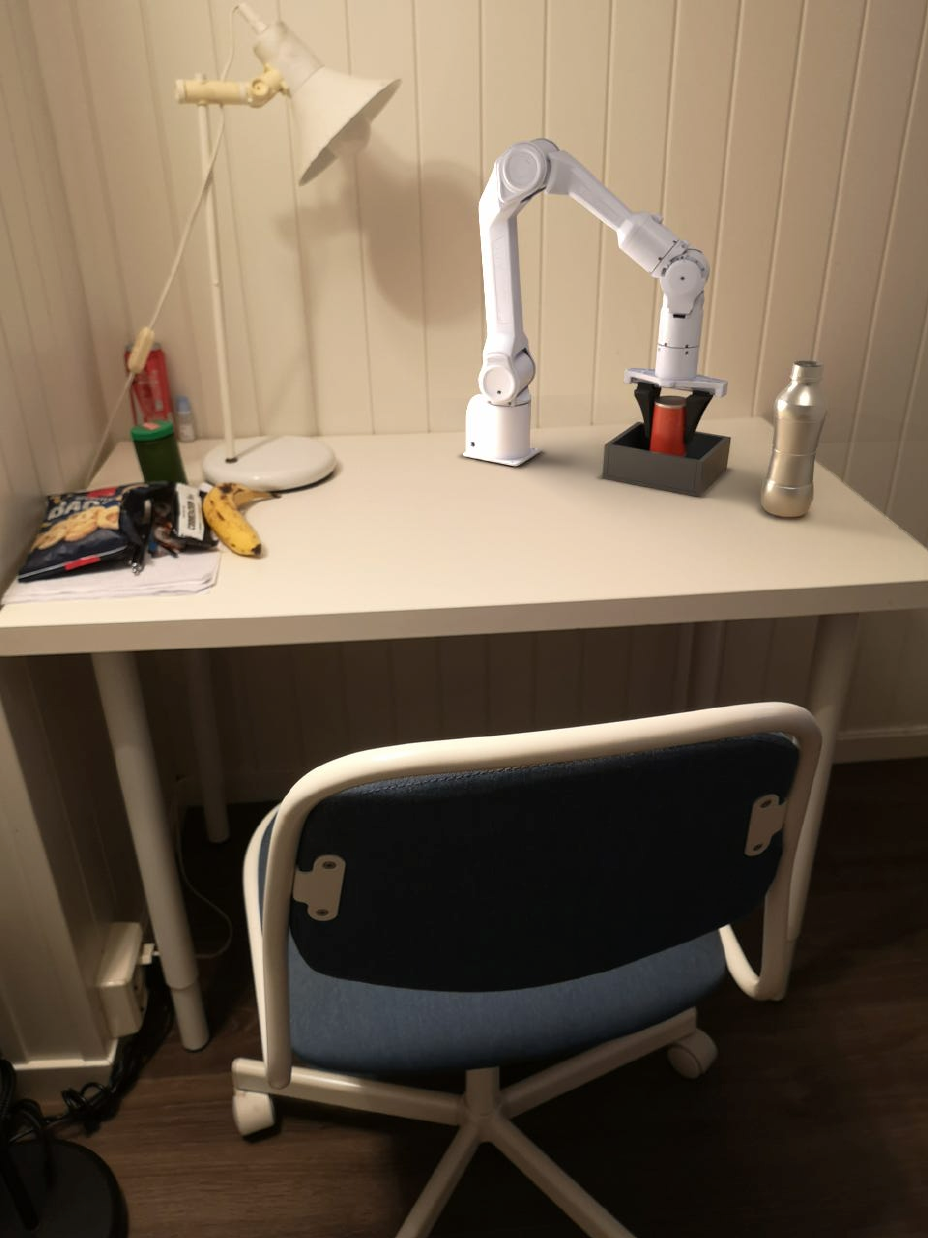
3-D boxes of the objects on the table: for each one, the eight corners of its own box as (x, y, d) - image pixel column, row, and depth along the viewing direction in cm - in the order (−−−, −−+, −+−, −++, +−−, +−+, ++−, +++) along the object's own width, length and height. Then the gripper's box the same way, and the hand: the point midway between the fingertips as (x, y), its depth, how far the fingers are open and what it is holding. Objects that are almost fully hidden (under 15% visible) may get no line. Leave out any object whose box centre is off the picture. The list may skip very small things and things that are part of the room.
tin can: (643, 456, 142) (648, 402, 138) (656, 446, 146) (662, 393, 142) (678, 463, 139) (684, 408, 136) (691, 452, 143) (697, 398, 139)
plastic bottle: (812, 524, 128) (840, 371, 118) (758, 520, 129) (782, 369, 119) (807, 506, 133) (834, 358, 123) (756, 502, 134) (778, 356, 125)
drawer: (602, 477, 143) (604, 444, 140) (635, 453, 152) (637, 421, 150) (698, 497, 136) (703, 462, 134) (726, 469, 146) (731, 436, 143)
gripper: (618, 343, 135) (611, 437, 142) (720, 356, 129) (708, 455, 135) (637, 333, 140) (630, 424, 147) (737, 345, 134) (724, 440, 140)
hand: (668, 438), depth 141 cm, fingers closed on tin can, 5 cm apart
